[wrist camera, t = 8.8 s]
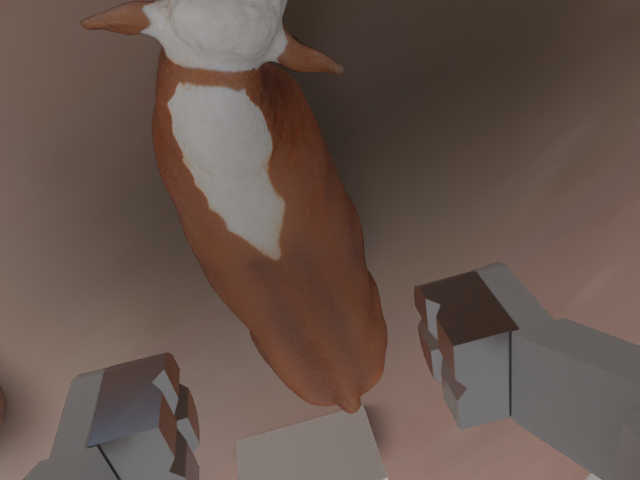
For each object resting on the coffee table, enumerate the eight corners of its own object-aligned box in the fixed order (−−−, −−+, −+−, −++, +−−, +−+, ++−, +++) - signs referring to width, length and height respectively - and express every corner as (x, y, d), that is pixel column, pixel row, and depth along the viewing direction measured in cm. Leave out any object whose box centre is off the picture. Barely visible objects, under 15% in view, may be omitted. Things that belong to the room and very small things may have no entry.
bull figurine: (258, -124, 14) (310, -163, 8) (356, 276, 22) (430, 446, 15) (96, -80, 14) (-2, -78, 7) (249, 309, 21) (272, 496, 14)
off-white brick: (362, 403, 25) (387, 478, 22) (371, 444, 27) (396, 520, 24) (235, 438, 25) (241, 520, 22) (252, 478, 27) (259, 561, 23)
